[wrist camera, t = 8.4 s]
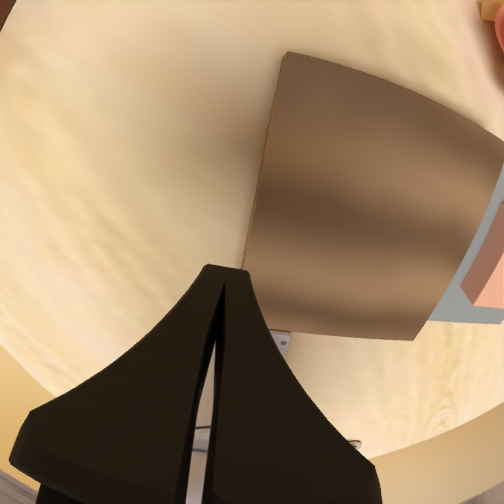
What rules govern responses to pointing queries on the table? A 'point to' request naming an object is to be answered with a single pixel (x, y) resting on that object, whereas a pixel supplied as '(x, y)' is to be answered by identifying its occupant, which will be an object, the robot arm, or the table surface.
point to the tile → (488, 268)
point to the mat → (454, 299)
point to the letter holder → (5, 10)
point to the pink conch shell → (495, 17)
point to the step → (362, 203)
